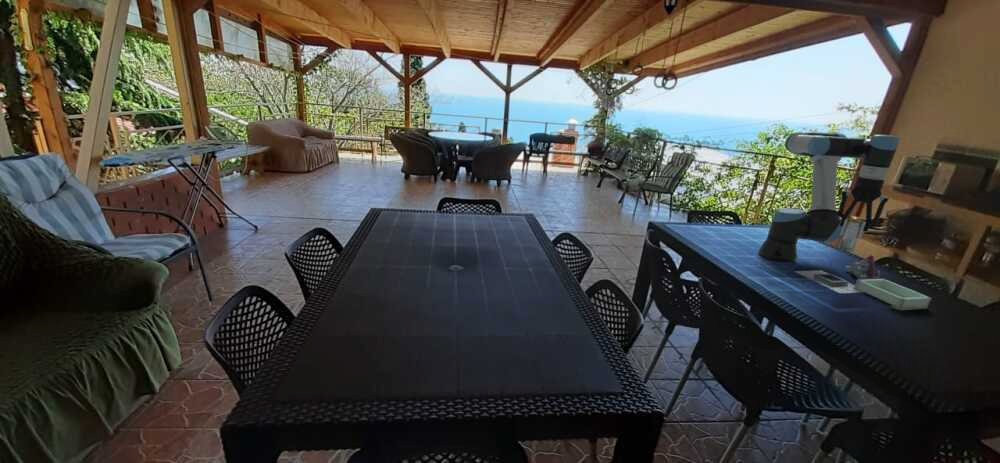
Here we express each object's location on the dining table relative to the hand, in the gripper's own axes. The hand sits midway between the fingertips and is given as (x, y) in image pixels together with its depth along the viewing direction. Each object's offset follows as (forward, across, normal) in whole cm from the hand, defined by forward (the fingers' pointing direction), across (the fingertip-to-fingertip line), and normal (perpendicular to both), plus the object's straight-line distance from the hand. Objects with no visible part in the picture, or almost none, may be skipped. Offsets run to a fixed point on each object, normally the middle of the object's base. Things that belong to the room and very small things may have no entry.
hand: (850, 236), depth 152 cm
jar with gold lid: (+5, 0, 0) cm, 5 cm away
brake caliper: (+21, +6, +19) cm, 29 cm away
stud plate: (+21, -1, 0) cm, 21 cm away
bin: (+21, +16, +3) cm, 27 cm away
